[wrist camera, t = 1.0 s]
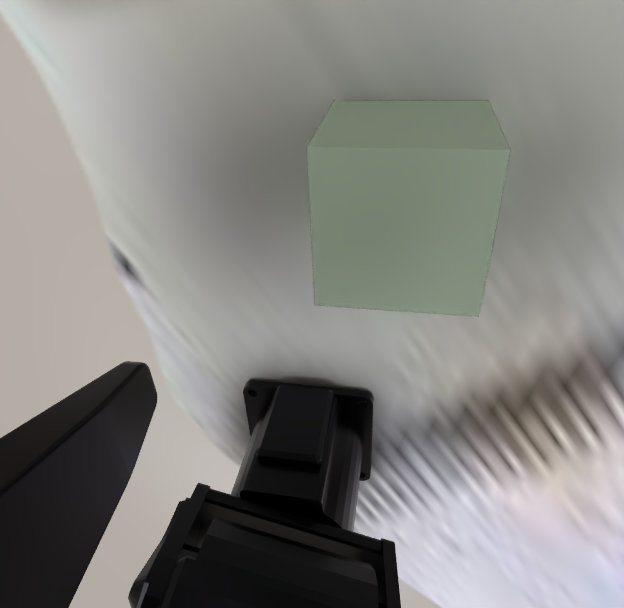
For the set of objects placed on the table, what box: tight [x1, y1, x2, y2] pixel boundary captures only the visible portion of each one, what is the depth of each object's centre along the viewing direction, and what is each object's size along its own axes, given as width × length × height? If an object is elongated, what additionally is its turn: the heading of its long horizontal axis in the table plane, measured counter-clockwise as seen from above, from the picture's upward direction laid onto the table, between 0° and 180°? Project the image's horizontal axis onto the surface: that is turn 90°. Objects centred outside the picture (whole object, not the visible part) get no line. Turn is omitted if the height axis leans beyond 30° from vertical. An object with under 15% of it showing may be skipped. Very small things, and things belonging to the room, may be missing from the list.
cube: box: [307, 100, 511, 317], centre depth 16 cm, size 5×5×5 cm
